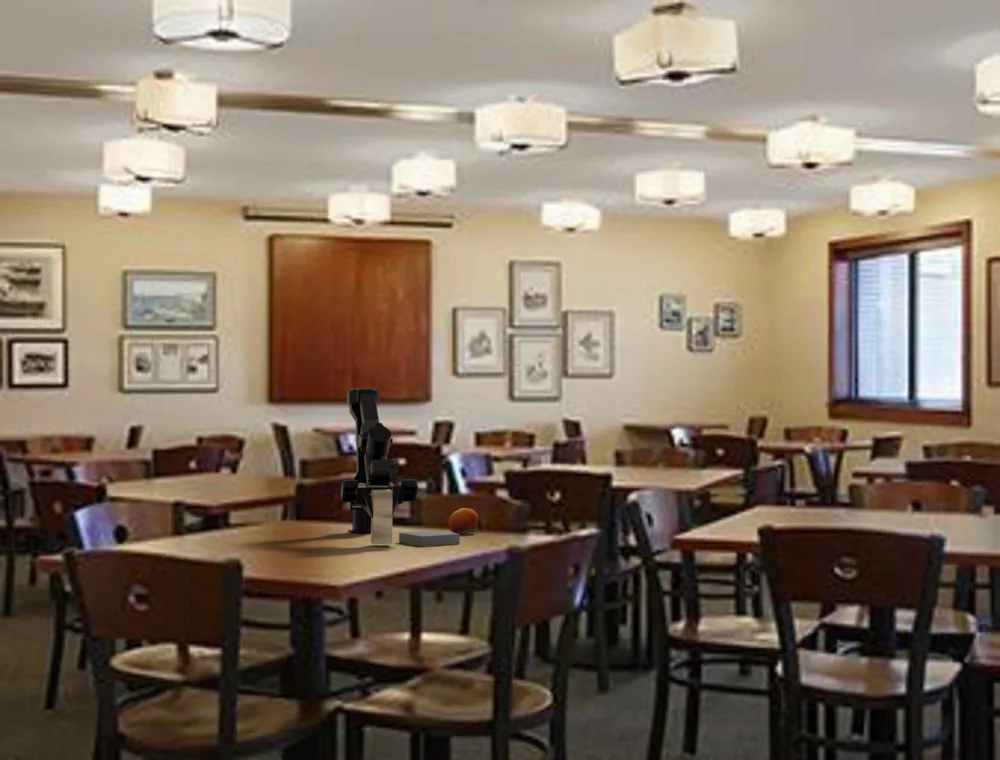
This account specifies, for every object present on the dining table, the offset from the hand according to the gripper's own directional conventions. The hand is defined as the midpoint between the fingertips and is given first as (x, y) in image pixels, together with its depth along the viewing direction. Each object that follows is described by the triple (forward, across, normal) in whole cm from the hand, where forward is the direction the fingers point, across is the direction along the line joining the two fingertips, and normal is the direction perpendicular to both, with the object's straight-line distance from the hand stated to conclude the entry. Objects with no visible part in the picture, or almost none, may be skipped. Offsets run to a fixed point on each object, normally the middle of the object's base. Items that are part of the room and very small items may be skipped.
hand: (382, 516), depth 347 cm
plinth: (+1, +13, +9) cm, 16 cm away
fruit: (-14, +26, +25) cm, 39 cm away
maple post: (+4, 0, +6) cm, 7 cm away
